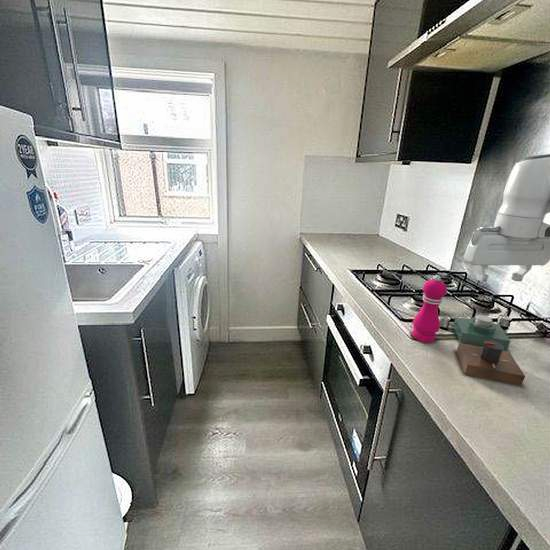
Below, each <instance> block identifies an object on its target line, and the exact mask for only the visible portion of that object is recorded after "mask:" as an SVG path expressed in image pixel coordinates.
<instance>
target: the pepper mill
mask: <svg viewBox="0 0 550 550" xmlns="http://www.w3.org/2000/svg"><path fill="white" fill-rule="evenodd" d="M422 291H423V294H422V300H423V304H422V306H421V308H420V310H419V311H418V312H417V313H416V314H415V316H414V318H413V320H412V326H413V327H414V328H413V329H412V332H411V334H412V337H413V338H414V339H415V340H417V341H419V342H422V343H433V342H435V340H436V336H437V334H436V333H438V332H439V331H440V328H441V321H440V317H439V311H438V310H439V307H440V305H441V304H442V303H443V297H444V296H445V295H446V294H447V291H448V287H447V285H446V284H445V283H444V282H443V281H442V278H441V276H440V275H438V274H436V275H434V277H433V279H429V280H426V281H425V282H424V283H423V286H422Z"/></svg>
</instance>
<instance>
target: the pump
mask: <svg viewBox="0 0 550 550" xmlns="http://www.w3.org/2000/svg"><path fill="white" fill-rule="evenodd" d="M475 317H476V319H475V323H476V324H477V325H480V326H483V327H490V326H491V323H492V322H493V319H492V318H491V317H490V316H487V315H484V314H477V315H476V316H475Z"/></svg>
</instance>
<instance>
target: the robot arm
mask: <svg viewBox="0 0 550 550" xmlns="http://www.w3.org/2000/svg"><path fill="white" fill-rule="evenodd" d="M549 213H550V153H547V154H546V153H545V154H540V155H539V154H538V155H530V156H527V157H523V158H521V159H519V160H518V161H516V163H515V164H514V165H513V167H512V169H511V171H510V174H509V176H508V178H507V180H506V184H505V187H504V190H503V194H502V204H501V206H500V207H499V209H498V210H497V213H496V217H495V221H494V223H493V226H480V227H479V228H477V229H475V230H474V231H473V232H472V234H471V238H470V240H469V242H468V244H467V246H466V248H465V252H464V255H463V259H464V261H465V262H466V263H467V264H470V265H472V266H475V268H476V271H477V276H476V279H477V281H479V282H487V281H488V280H489V274H487V273H486V270H487V269H488V267H489V266H519V268H518V269H517V271H516V272H512V275H511V280H512V281H514V282H522V281H523V279H524V277H525V276H526V275H527V274H528V273H529V272H530V271H531V270H532V267H533V266H545V265H547V264H548V263H549V262H550V224H549V223H546V222H544V220H545V217H546V215H547V214H549Z"/></svg>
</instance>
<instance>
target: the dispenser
mask: <svg viewBox="0 0 550 550" xmlns="http://www.w3.org/2000/svg"><path fill="white" fill-rule="evenodd" d="M475 319H476V316H473V317H470V318H464V317H457V316H455V317H454V321H453V324H452V327H453V330H454V332H455V334H456V336H457V339H458V341H459V342H458V343H462V344H467V345H473V346H478V347H483V346H484V342H485V341H487V340H490V341H495V342H498V343H500V344H501V345H502V346H503V347H504V349H503V351H505V352H508V350H509V346H510V344H511V340H510V338H509V337H508V335H507V334H506V333H505V331H504V329H503V328H502V327H501V325H500V324H499V323H495V322H493V321H492V323H491V326H490V327H483V326H480V325H477V324H476V323H475Z"/></svg>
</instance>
